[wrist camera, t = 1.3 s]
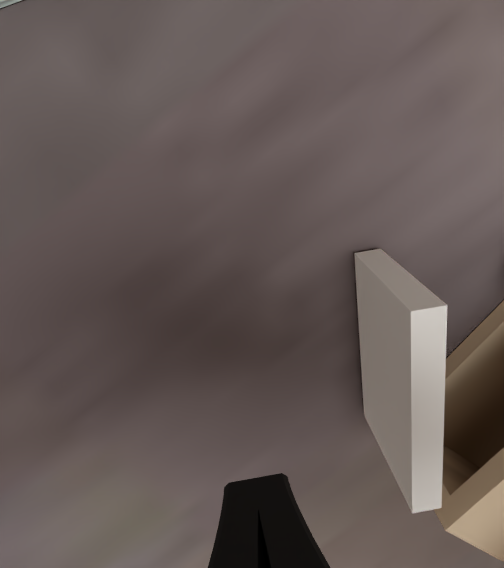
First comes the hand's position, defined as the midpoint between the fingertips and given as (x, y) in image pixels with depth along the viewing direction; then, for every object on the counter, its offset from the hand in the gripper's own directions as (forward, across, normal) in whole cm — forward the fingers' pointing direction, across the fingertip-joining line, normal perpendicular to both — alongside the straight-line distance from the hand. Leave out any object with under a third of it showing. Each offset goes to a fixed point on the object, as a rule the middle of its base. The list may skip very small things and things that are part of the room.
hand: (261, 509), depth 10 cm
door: (+8, -5, +1) cm, 9 cm away
